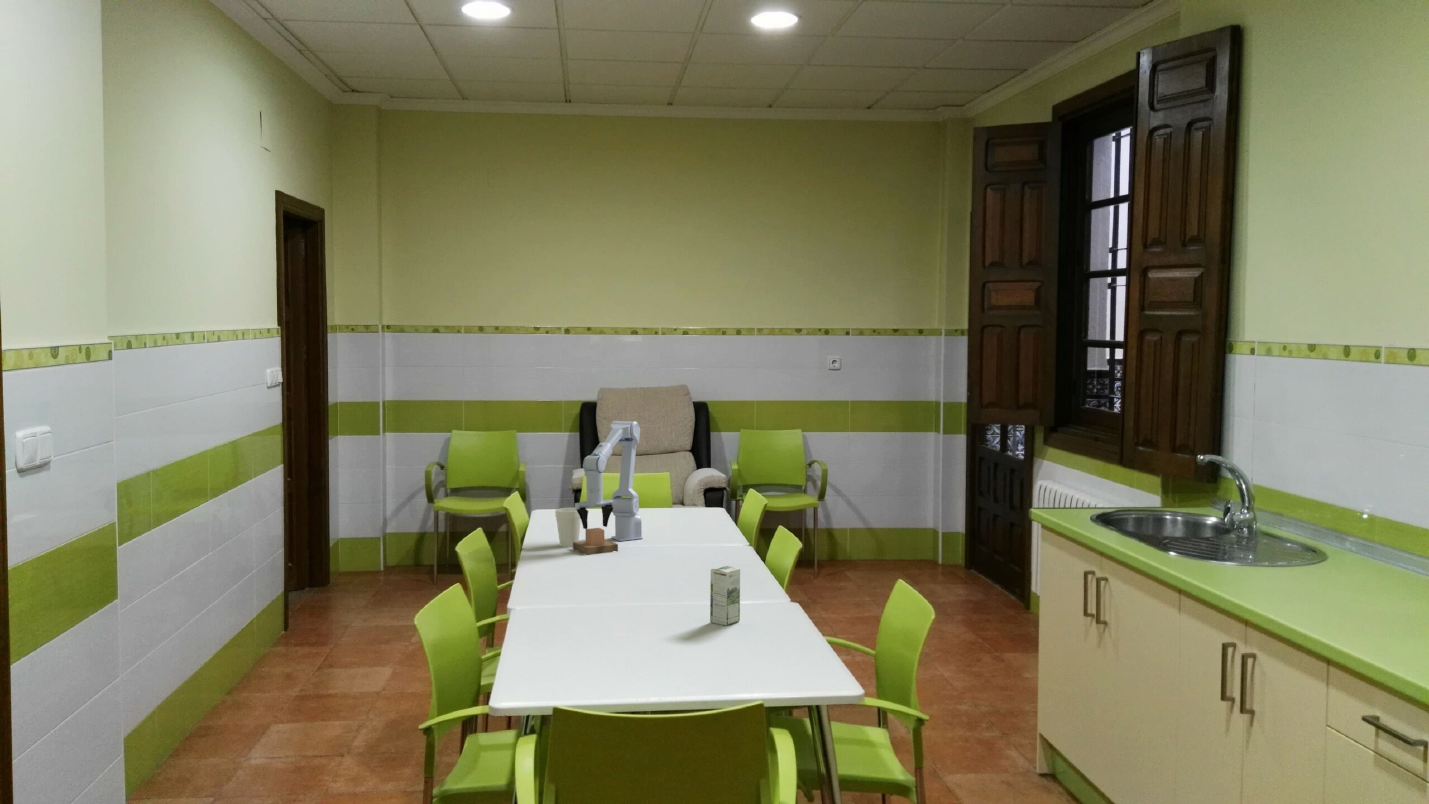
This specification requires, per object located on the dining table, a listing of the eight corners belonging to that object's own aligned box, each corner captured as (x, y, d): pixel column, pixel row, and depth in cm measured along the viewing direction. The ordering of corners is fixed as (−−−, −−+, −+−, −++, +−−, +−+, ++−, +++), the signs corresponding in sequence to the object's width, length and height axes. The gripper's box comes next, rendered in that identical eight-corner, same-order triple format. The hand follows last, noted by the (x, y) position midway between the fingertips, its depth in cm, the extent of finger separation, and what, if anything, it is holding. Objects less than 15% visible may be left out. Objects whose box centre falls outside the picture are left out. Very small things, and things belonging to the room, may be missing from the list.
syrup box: (723, 617, 284) (723, 564, 283) (740, 621, 280) (740, 567, 279) (709, 622, 280) (709, 568, 279) (727, 626, 276) (727, 571, 275)
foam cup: (579, 547, 379) (579, 511, 378) (554, 547, 379) (553, 511, 378) (583, 542, 388) (583, 507, 388) (558, 542, 389) (558, 507, 388)
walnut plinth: (603, 546, 383) (603, 538, 383) (617, 552, 373) (617, 544, 373) (573, 550, 377) (572, 542, 377) (586, 556, 367) (586, 547, 367)
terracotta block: (598, 541, 378) (598, 527, 378) (604, 543, 374) (604, 529, 373) (585, 542, 375) (585, 529, 375) (591, 545, 371) (591, 531, 371)
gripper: (580, 492, 366) (580, 531, 367) (618, 489, 374) (618, 527, 375) (572, 489, 373) (572, 528, 373) (609, 486, 380) (610, 524, 381)
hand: (595, 527), depth 375 cm, fingers open, 7 cm apart
